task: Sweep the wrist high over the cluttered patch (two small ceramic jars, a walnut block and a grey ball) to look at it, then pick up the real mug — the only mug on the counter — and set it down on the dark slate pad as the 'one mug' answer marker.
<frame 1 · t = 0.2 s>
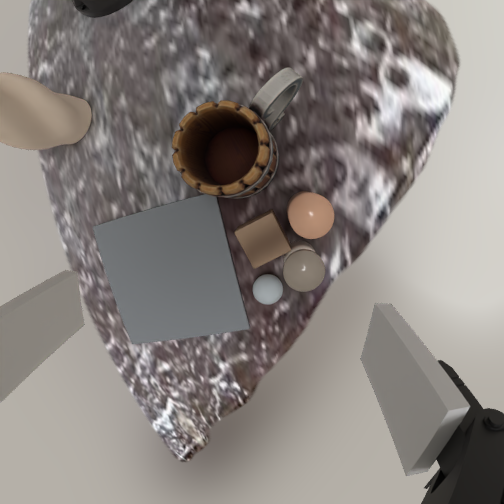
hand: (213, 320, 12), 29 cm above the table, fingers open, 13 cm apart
cream corked bottle: (75, 124, 38), on the table
jar b: (299, 256, 41), on the table
grey ball: (267, 289, 40), point 2 cm above the table
slate pad: (167, 276, 43), on the table
walnut block: (264, 233, 40), on the table
mug: (251, 144, 38), on the table
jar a: (305, 210, 39), on the table
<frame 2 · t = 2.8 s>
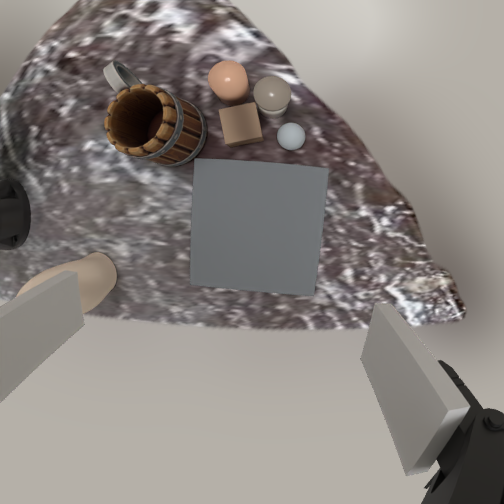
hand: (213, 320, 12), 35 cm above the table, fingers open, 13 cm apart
cream corked bottle: (103, 271, 50), on the table
jar b: (272, 104, 41), on the table
grey ball: (291, 136, 40), point 2 cm above the table
slate pad: (256, 227, 46), on the table
walnut block: (243, 128, 42), on the table
mug: (168, 121, 43), on the table
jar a: (233, 90, 41), on the table
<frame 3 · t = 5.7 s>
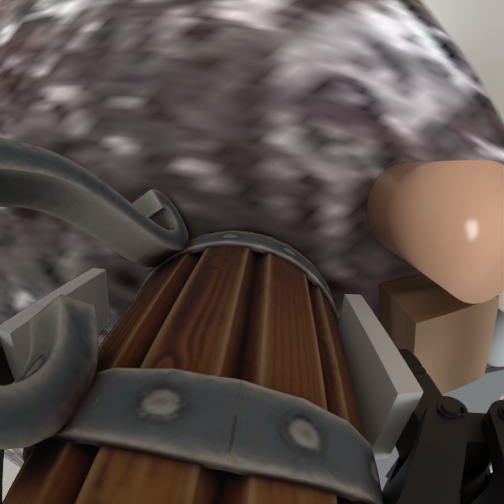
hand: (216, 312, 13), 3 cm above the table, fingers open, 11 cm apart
grey ball: (502, 337, 14), point 2 cm above the table
slate pad: (386, 461, 20), on the table
walnut block: (416, 312, 16), on the table
mug: (214, 282, 16), on the table, touching gripper
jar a: (408, 209, 15), on the table
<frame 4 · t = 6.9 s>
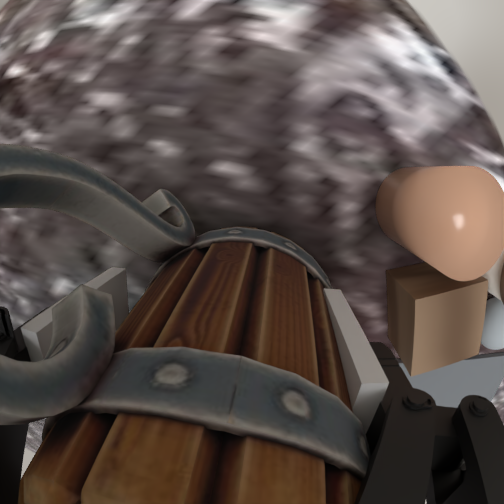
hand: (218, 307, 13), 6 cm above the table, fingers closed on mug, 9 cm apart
jar b: (474, 247, 17), on the table
grey ball: (497, 323, 16), point 2 cm above the table
slate pad: (393, 441, 22), on the table
walnut block: (419, 297, 18), on the table
mug: (220, 276, 17), point 2 cm above the table, touching gripper
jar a: (411, 206, 17), on the table
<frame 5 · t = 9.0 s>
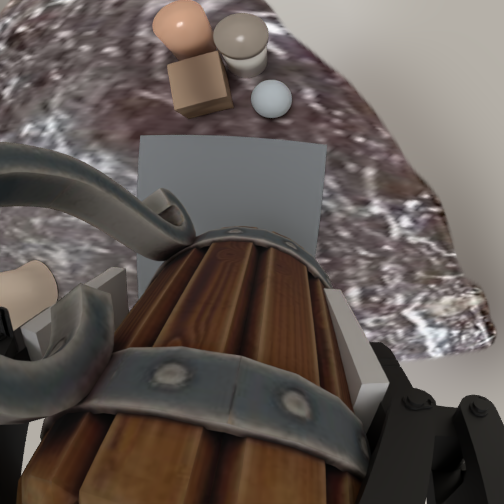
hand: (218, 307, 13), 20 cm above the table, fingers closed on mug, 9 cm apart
cream corked bottle: (43, 284, 36), on the table
jar b: (246, 60, 28), on the table
grey ball: (271, 98, 27), point 2 cm above the table
slate pad: (223, 230, 32), on the table
walnut block: (206, 92, 29), on the table
mug: (220, 275, 17), point 16 cm above the table, touching gripper
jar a: (195, 46, 27), on the table
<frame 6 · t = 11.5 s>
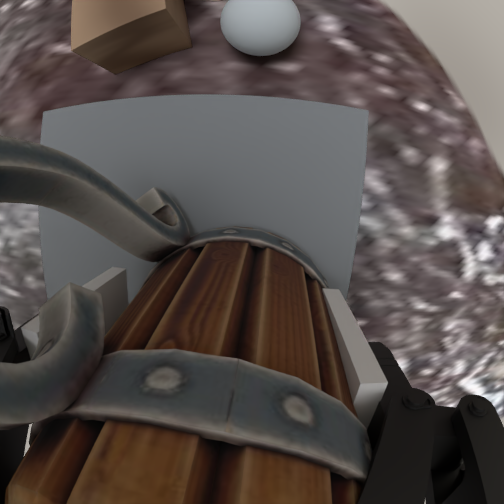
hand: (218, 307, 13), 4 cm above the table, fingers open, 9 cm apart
grey ball: (260, 21, 12), point 2 cm above the table
slate pad: (174, 271, 17), on the table
walnut block: (148, 29, 14), on the table
mug: (215, 277, 17), resting on slate pad, touching gripper
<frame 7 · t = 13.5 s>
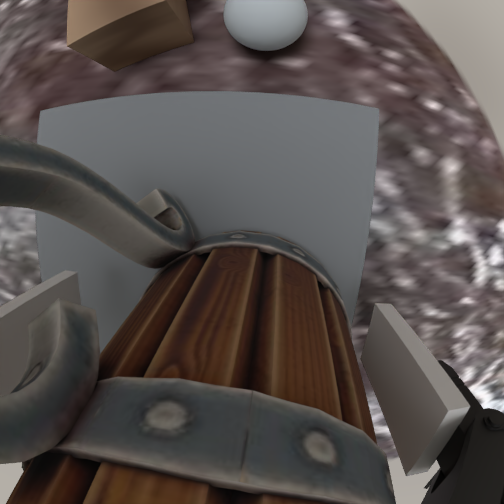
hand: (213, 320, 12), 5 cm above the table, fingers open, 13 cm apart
grey ball: (265, 14, 11), point 2 cm above the table
slate pad: (175, 277, 16), on the table
walnut block: (148, 24, 13), on the table
mug: (220, 283, 16), resting on slate pad
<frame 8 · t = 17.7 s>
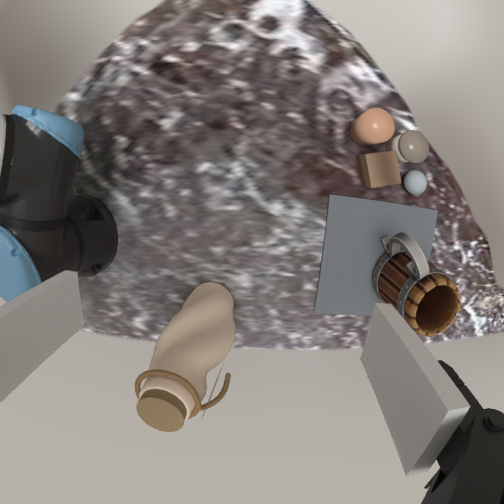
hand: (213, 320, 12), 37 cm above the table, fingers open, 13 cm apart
cream corked bottle: (216, 302, 52), on the table
jar b: (396, 149, 43), on the table
grey ball: (415, 182, 42), point 2 cm above the table
slate pad: (378, 260, 48), on the table
walnut block: (373, 169, 45), on the table
mug: (392, 262, 47), resting on slate pad
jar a: (364, 131, 43), on the table
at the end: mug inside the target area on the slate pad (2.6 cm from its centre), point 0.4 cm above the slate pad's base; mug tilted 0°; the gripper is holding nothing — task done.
